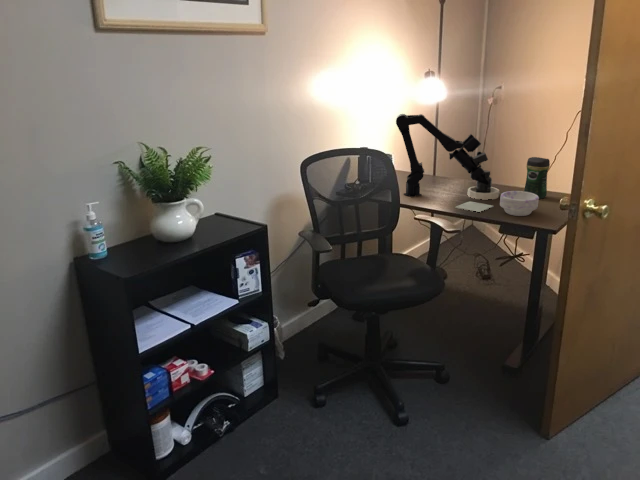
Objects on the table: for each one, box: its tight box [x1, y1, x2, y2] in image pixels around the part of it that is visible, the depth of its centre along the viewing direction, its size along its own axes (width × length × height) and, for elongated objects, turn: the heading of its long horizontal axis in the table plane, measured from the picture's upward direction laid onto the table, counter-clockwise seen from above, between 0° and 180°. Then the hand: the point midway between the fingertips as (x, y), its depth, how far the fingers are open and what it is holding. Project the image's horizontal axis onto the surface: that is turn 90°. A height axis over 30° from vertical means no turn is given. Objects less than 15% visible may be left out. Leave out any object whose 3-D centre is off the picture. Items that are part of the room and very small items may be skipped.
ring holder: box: [466, 185, 500, 201], centre depth 250 cm, size 14×14×3 cm
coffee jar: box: [523, 156, 551, 200], centre depth 242 cm, size 10×8×19 cm
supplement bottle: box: [475, 169, 493, 193], centre depth 248 cm, size 7×7×12 cm
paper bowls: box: [499, 190, 540, 217], centre depth 221 cm, size 15×15×8 cm
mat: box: [454, 201, 494, 213], centre depth 232 cm, size 12×12×1 cm
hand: (487, 182), depth 248 cm, fingers closed on supplement bottle, 7 cm apart
